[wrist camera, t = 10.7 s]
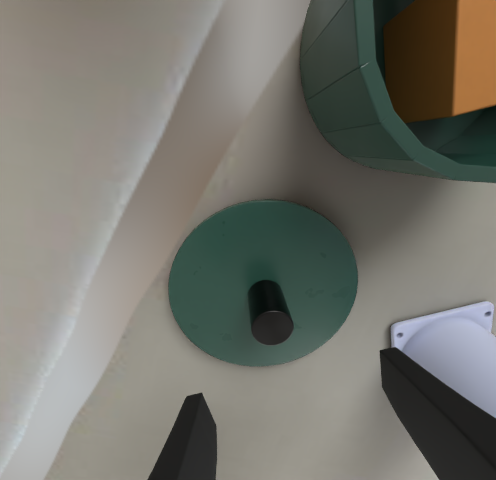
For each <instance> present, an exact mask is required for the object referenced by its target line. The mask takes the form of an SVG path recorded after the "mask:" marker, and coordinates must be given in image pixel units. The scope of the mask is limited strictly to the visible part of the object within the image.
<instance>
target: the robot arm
mask: <svg viewBox="0 0 496 480" xmlns="http://www.w3.org/2000/svg"><path fill="white" fill-rule="evenodd" d="M493 312H494V305H493V304H492V303H490V302H488V301H484V302H480V303H476V304H471V305H467V306H463V307H459V308H455V309H451V310H447V311H442V312H438V313H434V314H430V315H426V316H422V317H418V318H413V319H409V320H405V321H401V322H397V323H394V324H393V325H392V326H391V345H392V348H388V349H384V350H380V362H381V376H382V388H383V390H384V392H385V393H386V395H387V397H388V399H389V401H390V403H391V405H392V407H393V409H394V410H395V412H396V414H397V416H398V418H399V419H400V421H401V422H402V424H403V425H404V427H405V428H406V430H407V431H408V433H409V434H410V436H411V437H412V439H413V441H414V442H415V444H416V445H417V447H418V448H419V450H420V451H421V453H422V454H423V456H424V457H425V459H426V460H427V462H428V463H429V465H430V466H431V468H432V469H433V471H434V472H435V474H436V475H437V477H438V478H439V480H496V336H494V335H493V334H491V328H492V320H493ZM398 333H399V334H398ZM216 464H217V432H216V424H215V422H214V419H213V417H212V415H211V413H210V410H209V408H208V406H207V404H206V401H205V399H204V397H203V394H202V393H198V394H194V395H190V396H187V397H186V398H185V401H184V403H183V405H182V408H181V410H180V412H179V414H178V417H177V419H176V421H175V424H174V426H173V428H172V430H171V432H170V435H169V437H168V439H167V441H166V443H165V445H164V447H163V449H162V452H161V454H160V456H159V458H158V460H157V462H156V464H155V466H154V468H153V470H152V472H151V474H150V476H149V478H148V480H215V478H216Z"/></svg>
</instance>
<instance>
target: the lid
mask: <svg viewBox="0 0 496 480" xmlns="http://www.w3.org/2000/svg"><path fill="white" fill-rule="evenodd" d="M357 285H358V271H357V266H356V260H355V257H354V254H353V252H352V249H351V247H350V245H349V243H348V242H347V240H346V238H345V237H344V236H343V234H342V233H341V232H340V230H339V229H338V228H337V227H336V226H335V225H334V224H333V223H331V222H330V221H329V220H328V219H326V218H325V217H323V216H322V215H321V214H319V213H318V212H316V211H314V210H312V209H310V208H308V207H305V206H303V205H300V204H297V203H293V202H289V201H284V200H273V199H263V200H252V201H247V202H242V203H238V204H235V205H232V206H229V207H227V208H225V209H223V210H221V211H218V212H216V213H215V214H213V215H212V216H210V217H209V218H207V219H205V220H204V221H203V222H202V223H201V224H199V225H198V226H197V227H196V228H195V229H194V230H193V231H192V232H191V233H190V235H189V236H188V237H187V238H186V239H185V241H184V242H183V244H182V246H181V247H180V249H179V250H178V253H177V255H176V257H175V259H174V261H173V264H172V268H171V271H170V277H169V285H168V286H169V300H170V305H171V309H172V312H173V314H174V317H175V319H176V321H177V323H178V325H179V327H180V328H181V329H182V331H183V332H184V334H185V335H186V336H187V337H188V338H189V339H190V340H191V341H192V342H193V343H194V344H195V345H196V346H198V347H199V348H200V349H201V350H203V351H205V352H206V353H208V354H209V355H211V356H214V357H216V358H218V359H220V360H223V361H226V362H229V363H233V364H238V365H244V366H272V365H278V364H283V363H286V362H290V361H293V360H296V359H298V358H301V357H303V356H305V355H307V354H309V353H311V352H313V351H314V350H316V349H317V348H319V347H320V346H322V345H323V344H324V343H326V342H327V341H328V340H329V339H330V338H331V337H332V336H333V335H334V334H335V333H336V332H337V331H338V330H339V328H340V327H341V326H342V324H343V323H344V322H345V320H346V318H347V317H348V315H349V313H350V311H351V308H352V306H353V304H354V300H355V297H356V293H357Z"/></svg>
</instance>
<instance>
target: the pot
mask: <svg viewBox="0 0 496 480" xmlns="http://www.w3.org/2000/svg"><path fill="white" fill-rule="evenodd" d="M414 1H415V0H311V1H310V4H309V7H308V10H307V14H306V18H305V23H304V27H303V32H302V40H301V49H300V70H301V81H302V87H303V91H304V96H305V100H306V103H307V106H308V109H309V112H310V114H311V116H312V118H313V120H314V122H315V124H316V126H317V128H318V129H319V131H320V132H321V134H322V135H323V137H324V138H325V139H326V140H327V141H328V142H329V143H330V144H331V146H332V147H334V148H335V149H336V150H337V151H338V152H340V153H341V154H342V155H344V156H346V157H347V158H349V159H351V160H352V161H355V162H357V163H360V164H362V165H365V166H368V167H370V168H374V169H381V170H387V171H394V172H401V173H408V174H415V175H422V176H428V177H435V178H442V179H449V180H458V181H473V182H487V183H496V106H492V107H488V108H484V109H480V110H476V111H473V112H469V113H465V114H461V115H457V116H454V117H447V118H440V119H433V120H426V121H419V122H411V123H404V122H403V121H402V120H401V118H400V117H399V116H398V115H397V114H396V112H395V111H394V109H393V106H392V103H391V100H390V97H389V95H388V92H387V89H386V80H385V57H384V33H383V27H384V25H385V24H386V23H388V22H389V21H390V20H391V19H393V18H394V17H395V16H396V15H398V14H399V13H400V12H401V11H403V10H404V9H405V8H406V7H408V6H409V5H410V4H411V3H413V2H414Z"/></svg>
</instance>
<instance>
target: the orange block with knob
mask: <svg viewBox="0 0 496 480" xmlns="http://www.w3.org/2000/svg"><path fill="white" fill-rule="evenodd" d="M383 33H384V57H385V80H386V89H387V92H388V95H389V97H390V100H391V103H392V106H393V109H394V111H395V112H396V114H397V115H398V116H399V117H400V118H401V120H402V121H403V122H404V123H411V122H419V121H426V120H433V119H440V118H447V117H454V116H457V115H461V114H465V113H469V112H473V111H476V110H480V109H484V108H488V107H492V106H496V0H415V1H414V2H413V3H411V4H410V5H409V6H408V7H406V8H405V9H404V10H403V11H401V12H400V13H399V14H398V15H396V16H395V17H394V18H393V19H391V20H390V21H389V22H388V23H386V24H385V25H384V27H383Z"/></svg>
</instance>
